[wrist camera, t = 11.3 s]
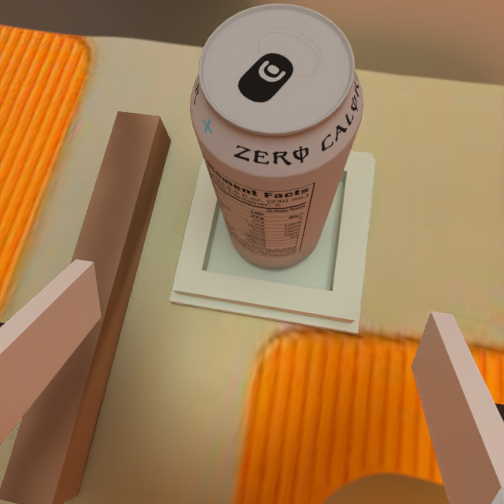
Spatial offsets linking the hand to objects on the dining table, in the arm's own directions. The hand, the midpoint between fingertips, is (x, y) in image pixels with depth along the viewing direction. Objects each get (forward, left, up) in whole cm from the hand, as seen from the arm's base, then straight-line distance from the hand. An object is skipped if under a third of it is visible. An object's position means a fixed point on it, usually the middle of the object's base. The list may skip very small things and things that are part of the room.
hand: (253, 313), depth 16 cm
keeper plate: (0, +7, -10) cm, 13 cm away
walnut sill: (-11, +1, -10) cm, 15 cm away
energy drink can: (0, +7, -10) cm, 12 cm away
